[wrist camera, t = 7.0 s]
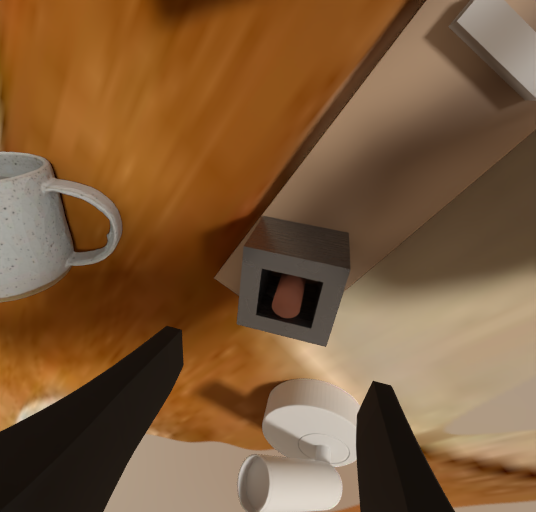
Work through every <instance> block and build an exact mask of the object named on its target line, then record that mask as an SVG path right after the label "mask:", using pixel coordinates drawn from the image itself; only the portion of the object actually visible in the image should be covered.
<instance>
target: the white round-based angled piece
mask: <svg viewBox="0 0 536 512" xmlns="http://www.w3.org/2000/svg"><path fill="white" fill-rule="evenodd" d="M359 409H360V405H359V404H358V402H357V401H356V400H355V398H354V397H352V396H351V395H350V394H349V393H348V392H346V391H345V390H343V389H341V388H340V387H338V386H336V385H333V384H331V383H328V382H324V381H320V380H315V379H293V380H289V381H285V382H283V383H281V384H279V385H277V386H276V387H275V388H274V389H273V390H272V391H271V393H270V395H269V398H268V402H267V406H266V410H265V414H264V419H263V423H262V430H263V434H264V436H265V438H266V440H267V441H268V442H269V444H270V445H271V446H272V447H273V448H275V449H276V450H277V451H278V452H280V453H281V454H283V455H285V456H286V457H279V456H269V455H260V454H252V455H250V456H248V457H247V458H246V459H245V460H244V462H243V463H242V465H241V468H240V471H239V474H238V482H237V491H238V497H239V501H240V504H241V506H242V508H243V509H244V510H245V511H246V512H306V511H322V510H329V509H332V508H333V507H335V506H336V505H337V504H338V502H339V501H340V499H341V495H342V481H341V478H340V476H339V473H338V472H337V470H336V469H335V468H334V467H338V466H344V465H347V464H350V463H352V462H354V461H355V460H357V456H356V423H357V413H358V411H359Z"/></svg>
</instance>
